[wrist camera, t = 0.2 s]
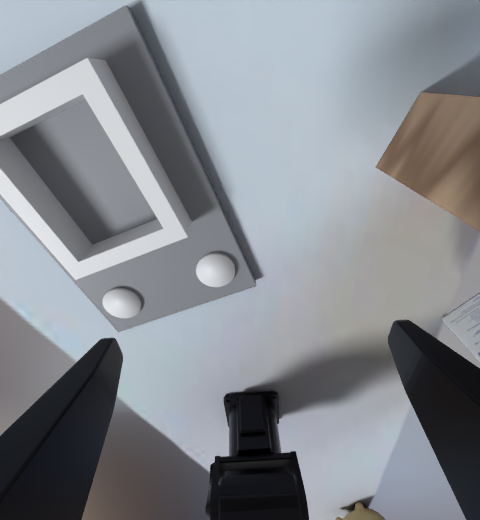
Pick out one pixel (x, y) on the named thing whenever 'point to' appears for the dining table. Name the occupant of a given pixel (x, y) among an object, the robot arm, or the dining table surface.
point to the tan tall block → (440, 153)
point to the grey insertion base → (114, 177)
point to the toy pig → (362, 514)
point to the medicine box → (466, 324)
